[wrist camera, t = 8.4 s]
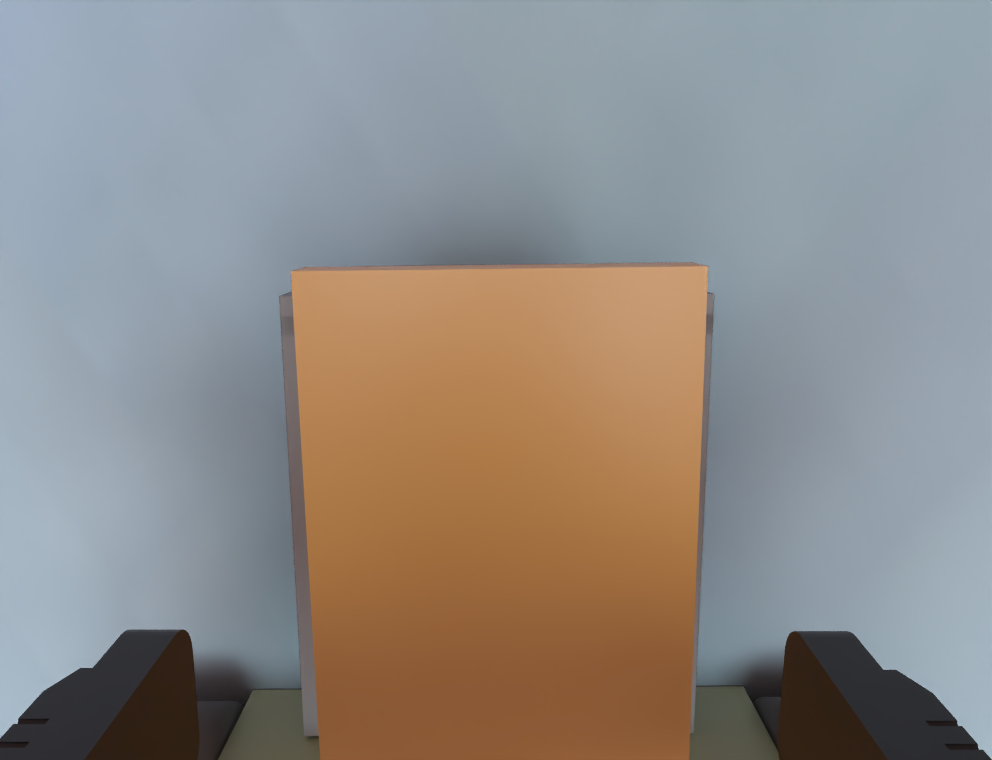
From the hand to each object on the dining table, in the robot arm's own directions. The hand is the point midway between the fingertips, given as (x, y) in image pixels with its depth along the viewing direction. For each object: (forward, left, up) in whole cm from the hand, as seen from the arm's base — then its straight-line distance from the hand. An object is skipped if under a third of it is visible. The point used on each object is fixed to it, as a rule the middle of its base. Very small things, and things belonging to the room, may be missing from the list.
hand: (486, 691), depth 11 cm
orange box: (-1, 0, -8) cm, 8 cm away
